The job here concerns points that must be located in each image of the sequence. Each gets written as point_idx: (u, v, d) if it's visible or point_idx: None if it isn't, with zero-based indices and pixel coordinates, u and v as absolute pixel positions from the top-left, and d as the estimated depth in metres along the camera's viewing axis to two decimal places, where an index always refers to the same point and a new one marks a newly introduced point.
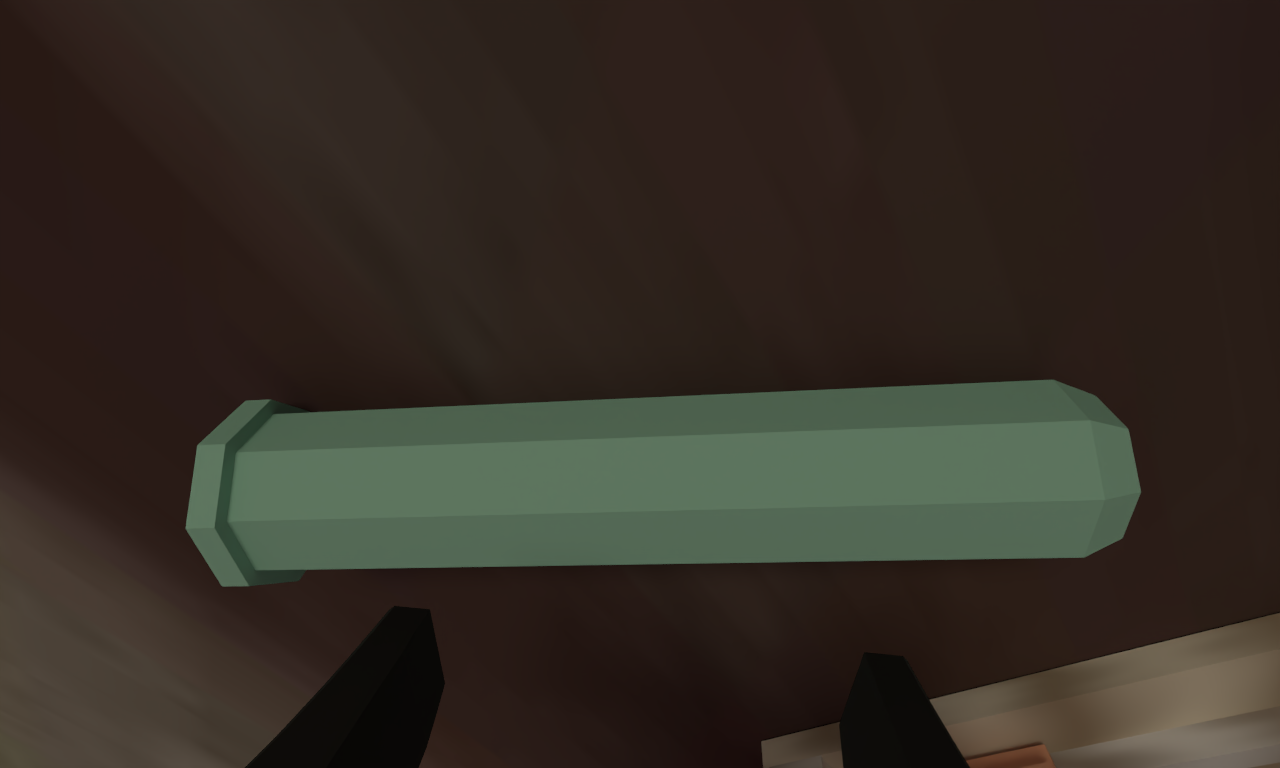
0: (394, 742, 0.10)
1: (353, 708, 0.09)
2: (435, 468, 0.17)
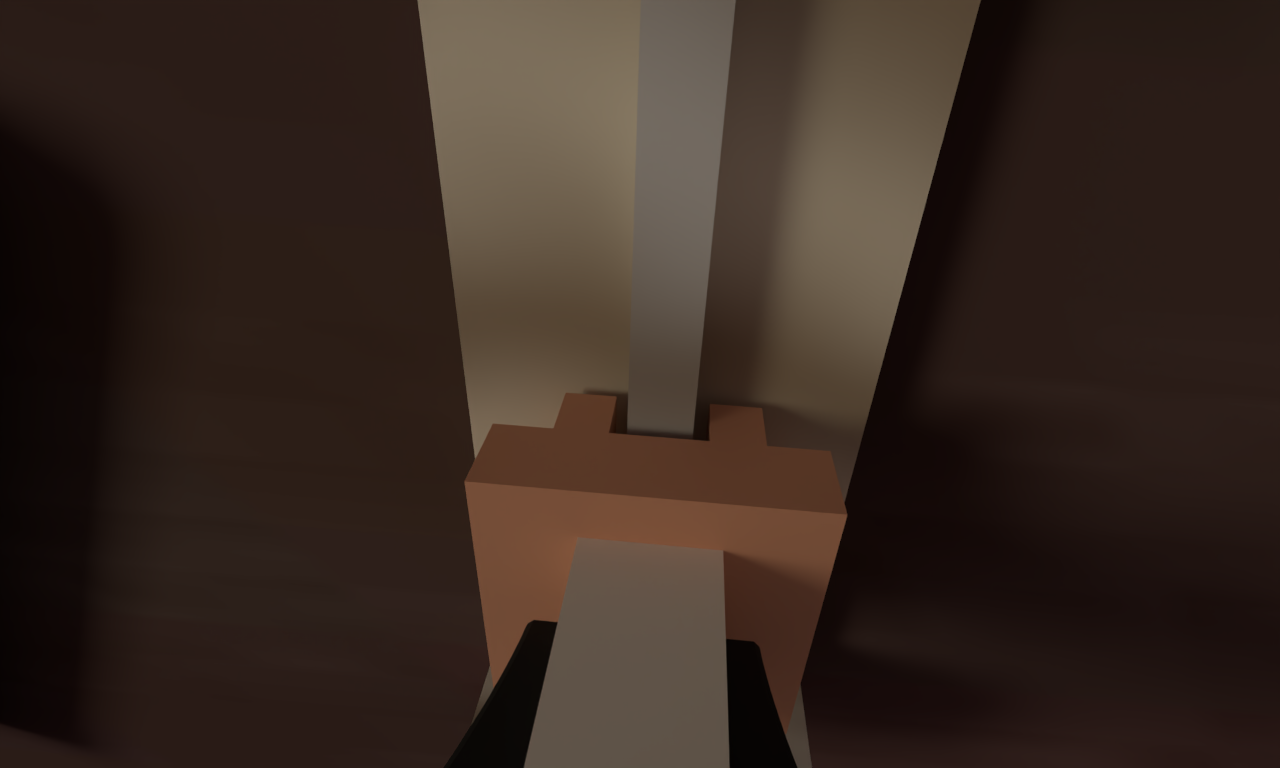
0: None
1: (523, 726, 0.08)
2: None
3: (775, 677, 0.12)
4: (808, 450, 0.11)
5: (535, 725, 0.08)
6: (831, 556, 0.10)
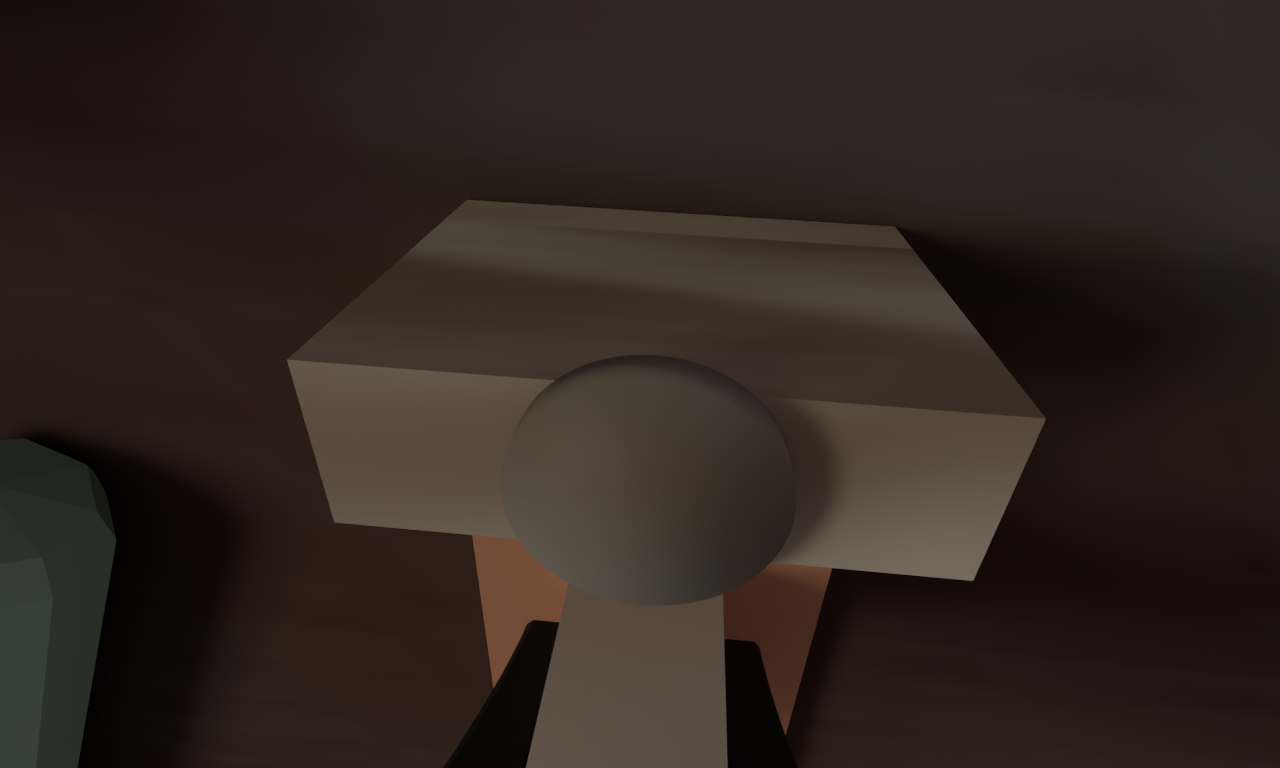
0: None
1: (523, 726, 0.08)
2: None
3: (774, 681, 0.12)
4: None
5: (536, 730, 0.08)
6: None
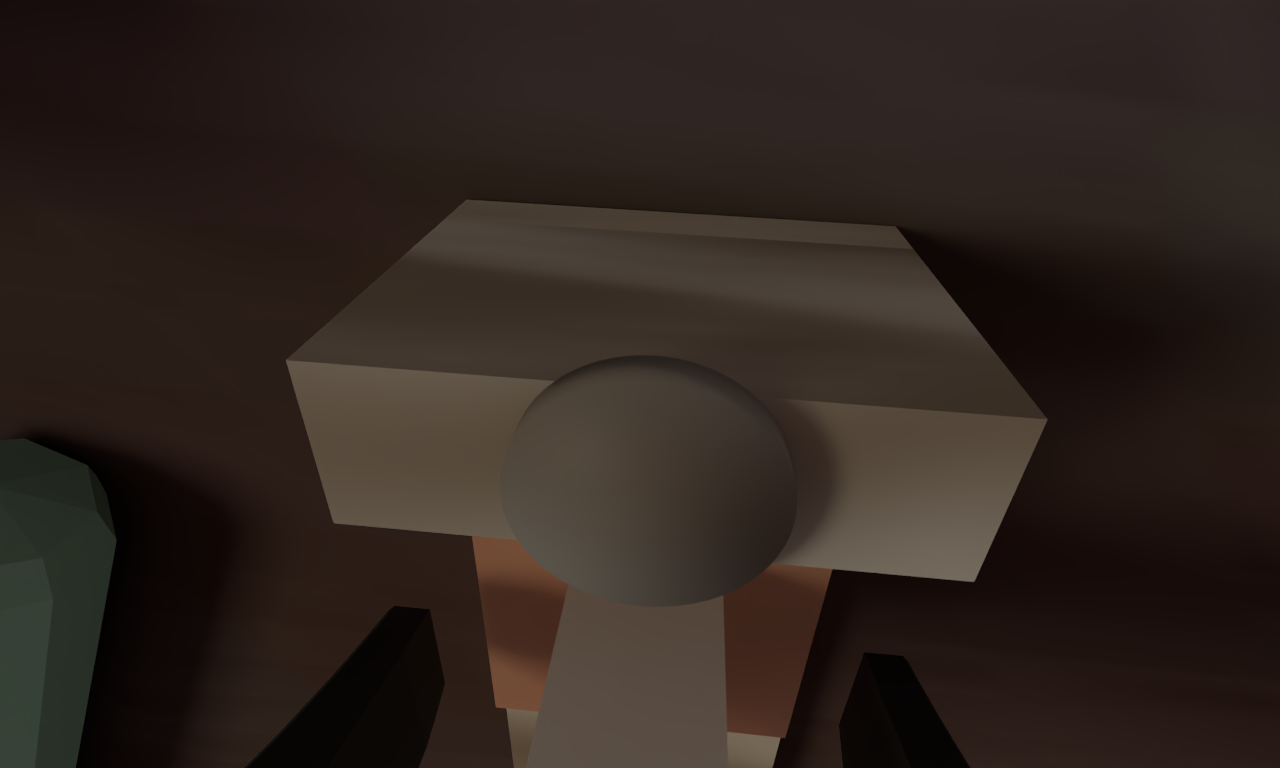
0: (394, 742, 0.10)
1: (353, 708, 0.09)
2: None
3: (774, 681, 0.12)
4: None
5: (536, 731, 0.08)
6: None
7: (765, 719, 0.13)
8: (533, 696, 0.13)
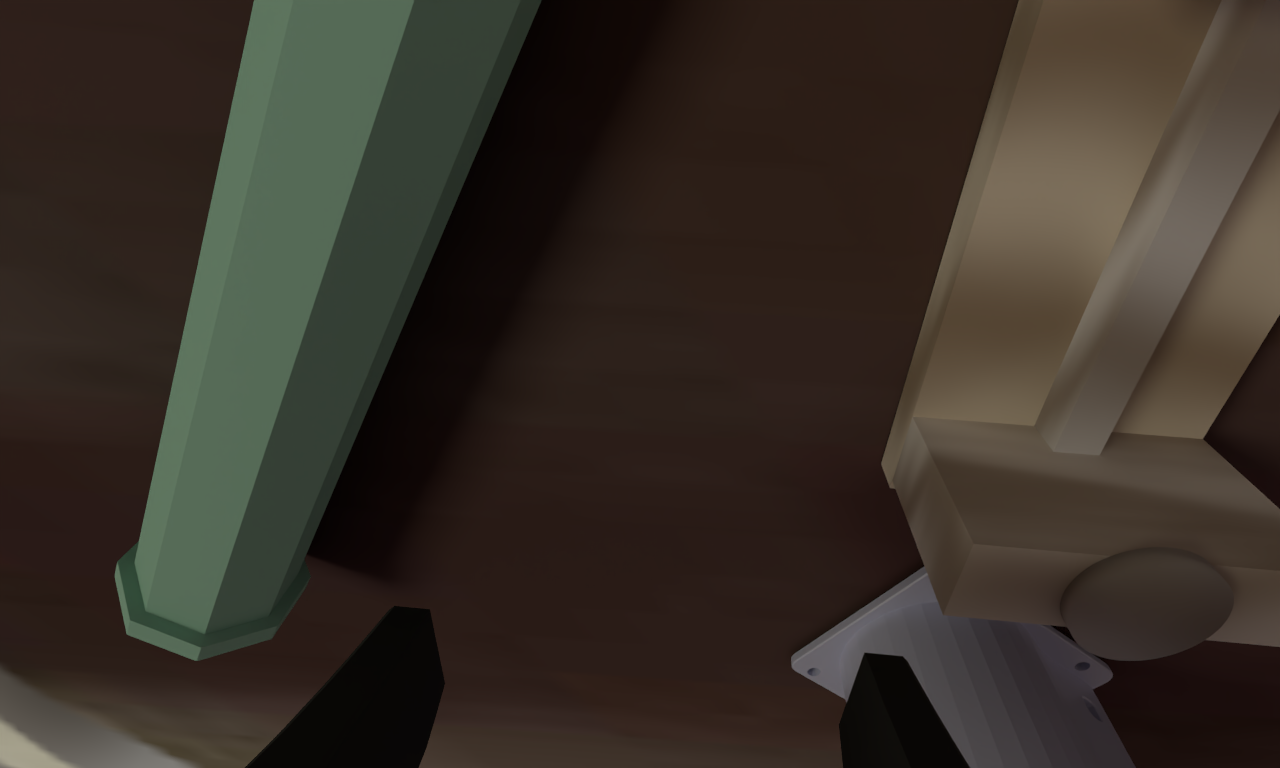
0: (394, 742, 0.10)
1: (353, 708, 0.09)
2: (164, 459, 0.19)
3: None
4: None
5: None
6: None
7: None
8: None
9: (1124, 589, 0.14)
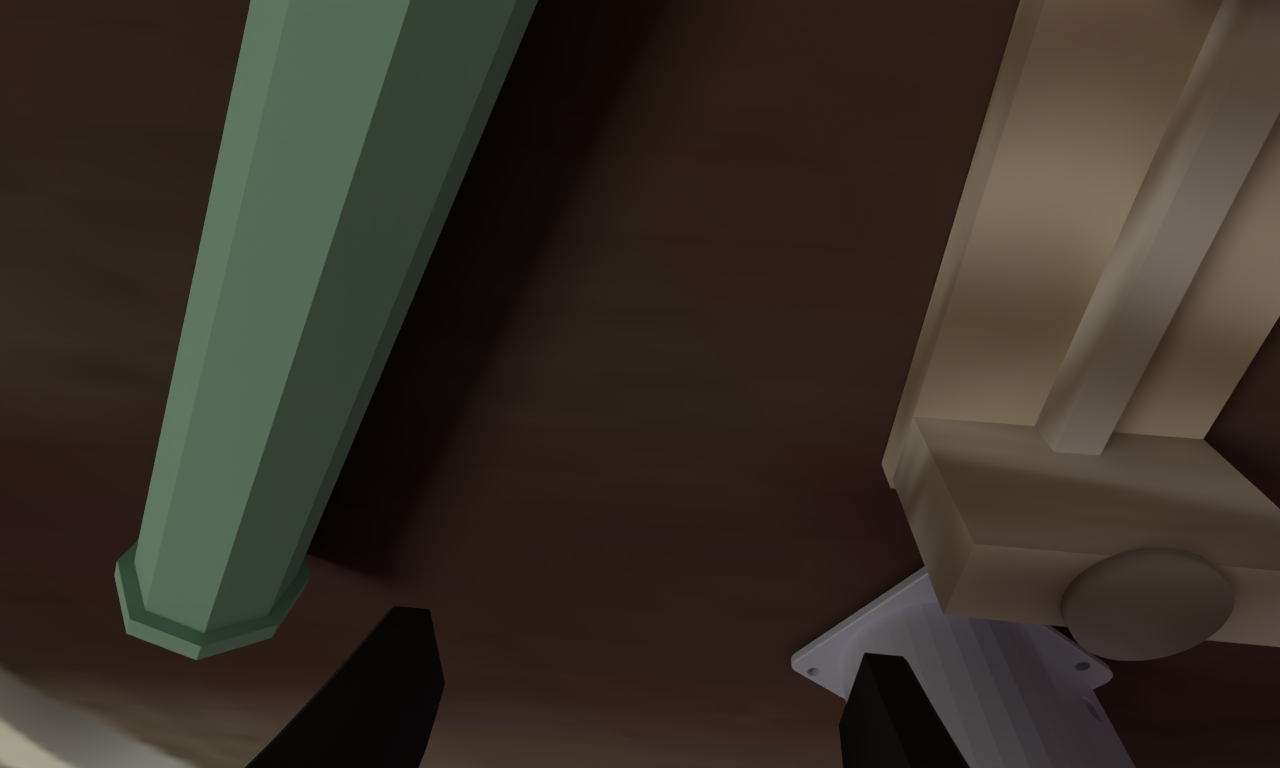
0: (394, 742, 0.10)
1: (353, 708, 0.09)
2: (163, 458, 0.19)
3: None
4: None
5: None
6: None
7: None
8: None
9: (1124, 589, 0.14)
